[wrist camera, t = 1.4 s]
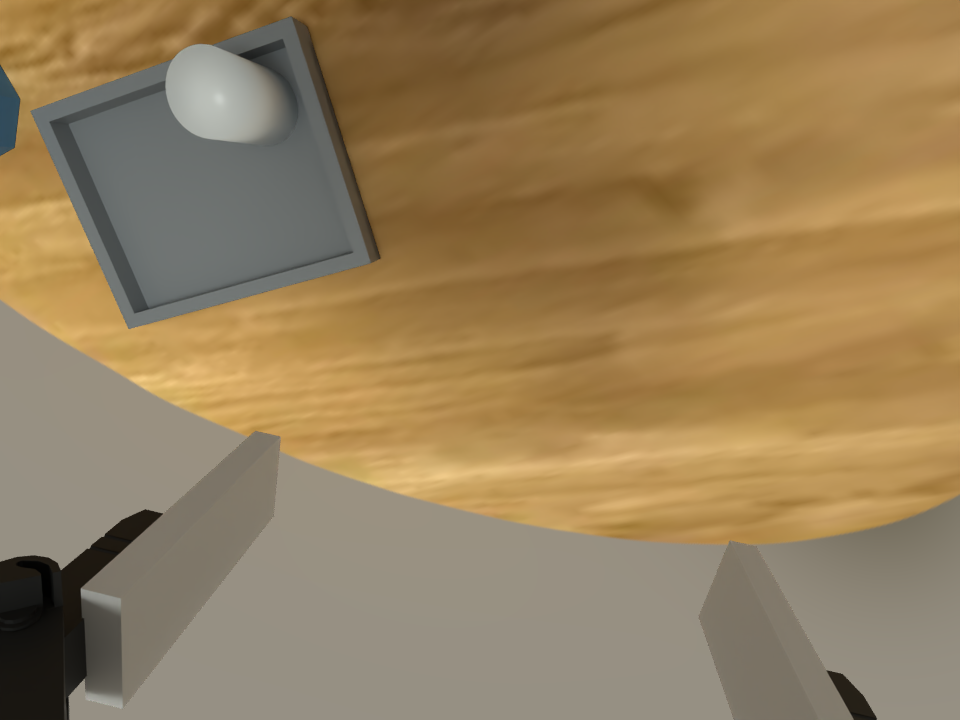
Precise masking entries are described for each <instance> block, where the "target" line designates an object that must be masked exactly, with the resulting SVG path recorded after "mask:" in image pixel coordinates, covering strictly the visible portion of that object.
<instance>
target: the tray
mask: <svg viewBox="0 0 960 720" xmlns="http://www.w3.org/2000/svg"><path fill="white" fill-rule="evenodd" d="M212 46H215V47H218V48H220V49H222V50H225V51H227V52H230V53H232V54H235V55H237V56H240V57H242V58H245V59H247V60H250V61H252V62H254V63H257V64H259V65H262V66H264V67H267V68H269V69H272V70H274V71H276V72H278V73H279V74H280V75H282V76H283V77H284V78H285V79H286V80H287V81H288V82H289V84H290V85H291V87H292V89H293V91H294V93H295V95H296V99H297V103H298V118H297V122H296V125H295V128H294V130H293V131H292V133H291V134H290V135H289V136H288V138H286V139H285V140H284V141H282V142H281V143H278V144H276V145H271V146H263V145H254V144H246V143H238V142H230V141H222V140H213V139H206V138H202V137H199V136H197V135H195V134H193V133H191V132H190V131H188V130H187V129H186V128H184V127H183V126H182V125H181V124H180V123H179V121H178V120H177V119H176V117H175V116H174V114H173V112H172V110H171V108H170V106H169V103H168V100H167V95H166V88H165V86H166V75H167V71H168V68H169V66H170V63H171V62H172V60H170V61H167V62H164V63H161V64H159V65H156V66H153V67H150V68H148V69H145V70H142V71H139V72H137V73H134V74H131V75H128V76H126V77H123V78H120V79H117V80H115V81H112V82H109V83H106V84H104V85H101V86H98V87H95V88H93V89H90V90H87V91H84V92H81V93H79V94H76V95H73V96H70V97H68V98H65V99H62V100H59V101H57V102H54V103H51V104H48V105H46V106H43V107H40V108H37V109H35V110H32V111H31V113H32V115H33V118H34V120H35V122H36V124H37V127H38V129H39V131H40V133H41V135H42V138H43V140H44V142H45V144H46V147H47V149H48V151H49V153H50V155H51V158H52V160H53V162H54V164H55V167H56V169H57V171H58V173H59V175H60V178H61V180H62V182H63V184H64V187H65V189H66V191H67V193H68V195H69V198H70V200H71V202H72V204H73V207H74V209H75V211H76V213H77V215H78V218H79V220H80V222H81V224H82V227H83V229H84V231H85V233H86V235H87V238H88V240H89V242H90V244H91V246H92V249H93V251H94V253H95V255H96V258H97V260H98V262H99V264H100V266H101V269H102V271H103V273H104V275H105V278H106V280H107V282H108V284H109V286H110V289H111V291H112V293H113V295H114V298H115V300H116V302H117V304H118V306H119V309H120V311H121V313H122V315H123V318H124V320H125V322H126V324H127V326H128V329H131V328H135V327H138V326H142V325H146V324H149V323H153V322H157V321H160V320H164V319H168V318H171V317H175V316H179V315H182V314H186V313H190V312H193V311H197V310H201V309H204V308H208V307H212V306H215V305H219V304H223V303H226V302H230V301H234V300H237V299H241V298H245V297H248V296H252V295H256V294H259V293H263V292H267V291H271V290H274V289H278V288H282V287H285V286H289V285H293V284H296V283H300V282H304V281H307V280H311V279H315V278H318V277H322V276H326V275H329V274H333V273H337V272H340V271H344V270H348V269H351V268H355V267H359V266H362V265H366V264H370V263H372V262H374V261H376V260H378V259H380V256H379V252H378V249H377V246H376V243H375V240H374V237H373V234H372V230H371V227H370V224H369V221H368V218H367V215H366V211H365V208H364V205H363V202H362V199H361V196H360V192H359V189H358V186H357V183H356V180H355V177H354V174H353V170H352V167H351V164H350V161H349V158H348V155H347V151H346V148H345V145H344V142H343V139H342V136H341V133H340V129H339V126H338V123H337V120H336V117H335V114H334V110H333V107H332V104H331V101H330V98H329V95H328V91H327V88H326V85H325V82H324V79H323V76H322V73H321V69H320V66H319V63H318V60H317V57H316V54H315V50H314V47H313V44H312V41H311V38H310V35H309V32H308V28H307V26H305V25H304V24H302V23H301V22H299V21H298V20H296V19H295V18H293V17H292V16H291V17H288V18H286V19H283V20H280V21H277V22H275V23H272V24H269V25H266V26H264V27H261V28H258V29H255V30H252V31H250V32H247V33H244V34H241V35H239V36H236V37H233V38H230V39H228V40H225V41H222V42H219V43H217V44H214V45H212Z"/></svg>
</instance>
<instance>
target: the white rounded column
mask: <svg viewBox="0 0 960 720" xmlns="http://www.w3.org/2000/svg"><path fill="white" fill-rule="evenodd" d="M165 88H166V95H167V100H168V103H169V106H170V108H171V110H172V112H173V114H174V116H175V117H176V119H177V120H178V121H179V123H180V124H181V125H182V126H183V127H184V128H186V129H187V130H188V131H190V132H191V133H193V134H195V135H197V136H199V137H202V138H206V139H213V140H222V141H230V142H238V143H246V144H254V145H263V146H271V145H276V144H278V143H281V142H282V141H284V140H285V139H286V138H288V136H289V135H290V134H291V133H292V131H293V130H294V128H295V125H296V122H297V118H298V103H297V99H296V95H295V93H294V91H293V89H292V87H291V85H290V84H289V82H288V81H287V80H286V79H285V78H284V77H283V76H282V75H280V74H279V73H278V72H276V71H274V70H272V69H269V68H267V67H264V66H262V65H259V64H257V63H254V62H252V61H250V60H247V59H245V58H242V57H240V56H237V55H235V54H232V53H230V52H227V51H225V50H222V49H220V48H218V47H215V46H212V45H207V44H196V45H192V46H189V47H187V48H184V49H183V50H182V51H180V52H179V53H178V54H177V55H176V56H175V57H174V59H173V60H172V62H171V63H170V66H169V68H168V71H167V75H166V86H165Z"/></svg>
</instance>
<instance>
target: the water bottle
mask: <svg viewBox="0 0 960 720" xmlns="http://www.w3.org/2000/svg"><path fill="white" fill-rule="evenodd" d="M19 104H20V98H19V96H18V95H17V93H16V91H15V89H14V88H13V86H12V84H11V83H10V81H9V79H8V78H7V76H6V74H5V72H4V71H3V69H2V67H1V66H0V156H1V155H2V154H4V153H6V152H8V151H9V150H11V149H13V148H15V139H16V131H17V122H18V113H19Z"/></svg>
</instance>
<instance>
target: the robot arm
mask: <svg viewBox="0 0 960 720" xmlns="http://www.w3.org/2000/svg"><path fill="white" fill-rule="evenodd" d="M280 439H281V437H280V436H275V435H271V434H267V433H262V432H258V431H255V432H254V433H252V434H251V435H250V436H249V437H248V438H247V439H246V440H245V441H244V442H242V443H241V444H240V445H239V446H238V447H237V448H236V449H235V450H234V451H233V452H232V453H230V454H229V455H228V456H227V457H226V458H225V459H224V460H223V461H221V462H220V463H219V464H218V465H217V466H216V467H215V468H214V469H213V470H211V471H210V472H209V473H208V474H207V475H206V476H205V477H204V478H203V479H202V480H201V481H199V482H198V483H197V484H196V485H195V486H194V487H193V488H192V489H190V490H189V491H188V492H187V493H186V494H185V495H184V496H183V497H182V498H181V499H179V500H178V501H177V502H176V503H175V504H174V505H173V506H172V507H170V508H169V509H168V510H167V511H166V512H165V513H164V514H162V513H158V512H154V511H150V510H146V509H145V510H143V511H141V512H138V513H136V514H134V515H132V516H130V517H128V518H125V519H123V520H121V521H120V522H119V523H118V524H116V525H115V526H114V527H113V528H112V529H110V530H109V531H108V532H107V533H106V534H105V536H104V537H101V538H100V539H98V540H97V541H96V542H95V543H94V544H92V545H91V548H90V549H86V550H85V551H84V552H83V553H82V554H80V555H79V556H78V557H77V558H76V559H74V560H73V561H72V562H71V563H69V564H68V565H67V566H66V567H65V568H63V569H62V570H60V568H59V565H58V563H57V562H55V561H53V560H52V559H50V558H47V557H41V556H23V557H16V558H12V559H8V560H5V561H1V562H0V720H69V697H68V696H69V695H70V694H71V693H72V692H73V690H74V689H75V688H76V687H77V686H78V685H79V684H80V683H81V682H82V681H83V679H84V678H85V689H86V690H85V692H86V700H90V701H94V702H98V703H102V704H106V705H110V706H114V707H118V708H122V709H123V708H124V707H125V705H126V704H127V703H128V702H129V700H130V699H131V698H132V696H133V695H134V694H135V693H136V691H137V690H138V688H139V687H140V686H141V685H142V684H143V682H144V681H145V680H146V679H147V677H148V676H149V675H150V673H151V672H152V671H153V670H154V668H155V667H156V666H157V665H158V663H159V662H160V661H161V659H162V658H163V657H164V655H165V654H166V653H167V652H168V650H169V649H170V648H171V646H172V645H173V644H174V643H175V642H176V640H177V639H178V637H179V636H180V635H181V634H182V633H183V631H184V630H185V629H186V627H187V626H188V625H189V624H190V622H191V621H192V620H193V619H194V617H195V616H196V614H197V613H198V612H199V611H200V610H201V608H202V607H203V606H204V604H205V603H206V602H207V601H208V599H209V598H210V597H211V596H212V594H213V593H214V592H215V590H216V589H217V588H218V586H219V585H220V584H221V582H222V581H223V580H224V579H225V578H226V576H227V575H228V574H229V572H230V571H231V570H232V569H233V567H234V566H235V565H236V564H237V562H238V561H239V560H240V558H241V557H242V556H243V554H244V553H245V552H246V551H247V549H248V548H249V547H250V546H251V544H252V543H253V542H254V541H255V539H256V538H257V537H258V535H259V534H260V533H261V532H262V530H263V529H264V528H265V527H266V525H267V524H268V523H269V521H270V520H271V519H272V517H273V516H274V506H275V495H276V484H277V471H278V460H279V450H280ZM699 619H700V622H701V625H702V628H703V631H704V634H705V637H706V640H707V643H708V646H709V648H710V651H711V654H712V657H713V660H714V663H715V666H716V669H717V672H718V675H719V678H720V681H721V683H722V686H723V689H724V692H725V695H726V698H727V701H728V704H729V707H730V709H731V713H732V715H733V719H734V720H877V718H876V716H875V714H874V713H873V711H872V709H871V708H870V706H869V704H868V703H867V701H866V699H865V698H864V696H863V695H862V694H861V693H860V692H859V691H858V690H857V689H856V688H855V687H854V685H852V684H851V682H850V681H849V680H848V679H846V677H845V676H844V675H843V674H840V673H836V672H832V671H827V670H826V669H825V667H824V666H823V664H822V662H821V660H820V658H819V657H818V655H817V653H816V651H815V650H814V648H813V646H812V644H811V642H810V641H809V639H808V637H807V635H806V634H805V632H804V630H803V628H802V626H801V625H800V623H799V621H798V619H797V618H796V616H795V614H794V612H793V610H792V609H791V607H790V605H789V603H788V601H787V600H786V598H785V596H784V594H783V593H782V591H781V589H780V587H779V586H778V584H777V582H776V580H775V578H774V577H773V575H772V573H771V571H770V569H769V568H768V566H767V564H766V562H765V560H764V559H763V557H762V555H761V553H760V551H759V550H758V548H757V547H756V546H752V545H747V544H743V543H739V542H734V541H729V544H728V546H727V549H726V551H725V553H724V556H723V558H722V561H721V563H720V566H719V568H718V570H717V573H716V575H715V578H714V580H713V583H712V585H711V588H710V590H709V593H708V595H707V598H706V600H705V602H704V605H703V607H702V610H701V612H700V614H699Z"/></svg>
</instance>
